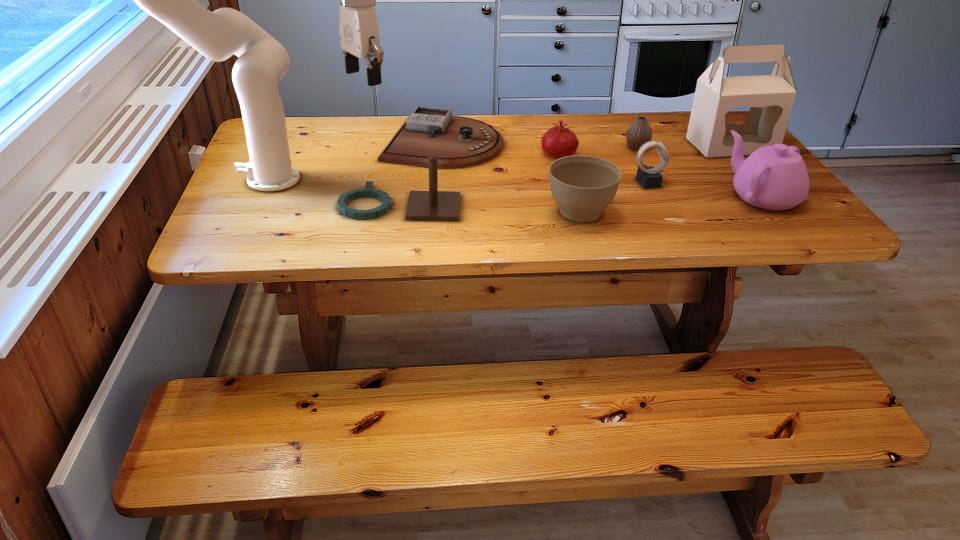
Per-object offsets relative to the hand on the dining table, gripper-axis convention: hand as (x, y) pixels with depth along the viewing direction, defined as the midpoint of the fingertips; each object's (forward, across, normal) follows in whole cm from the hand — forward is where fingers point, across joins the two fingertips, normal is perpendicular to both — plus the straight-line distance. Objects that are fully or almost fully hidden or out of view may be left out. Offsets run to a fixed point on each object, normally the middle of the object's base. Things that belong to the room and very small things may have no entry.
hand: (363, 78), depth 159 cm
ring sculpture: (+27, +38, +57) cm, 74 cm away
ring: (+27, +7, -5) cm, 28 cm away
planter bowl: (+27, +39, +32) cm, 58 cm away
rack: (+27, +18, +6) cm, 33 cm away
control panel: (+27, -10, +30) cm, 41 cm away
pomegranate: (+27, +13, +50) cm, 59 cm away
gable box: (+28, +36, +94) cm, 105 cm away
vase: (+27, +22, +71) cm, 79 cm away
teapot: (+28, +58, +75) cm, 99 cm away
